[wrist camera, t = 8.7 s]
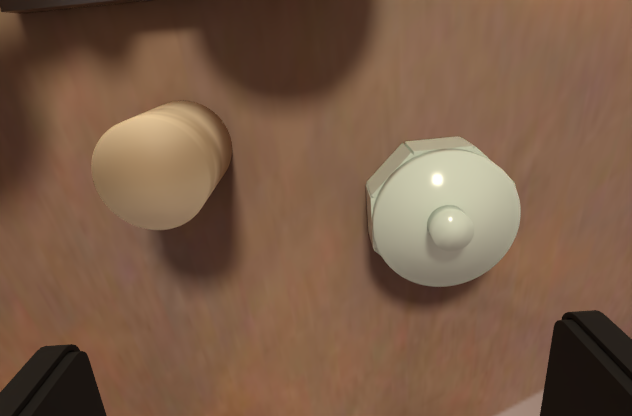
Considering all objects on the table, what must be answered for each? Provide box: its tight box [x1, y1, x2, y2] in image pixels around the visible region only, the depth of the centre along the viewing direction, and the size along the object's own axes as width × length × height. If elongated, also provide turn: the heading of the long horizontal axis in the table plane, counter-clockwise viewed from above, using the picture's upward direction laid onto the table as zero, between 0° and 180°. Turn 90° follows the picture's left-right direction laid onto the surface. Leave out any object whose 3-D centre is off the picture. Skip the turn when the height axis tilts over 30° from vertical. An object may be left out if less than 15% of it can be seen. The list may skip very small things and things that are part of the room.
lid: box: [366, 136, 521, 287], centre depth 20 cm, size 7×7×4 cm
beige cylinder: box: [91, 101, 232, 230], centre depth 19 cm, size 4×4×5 cm
